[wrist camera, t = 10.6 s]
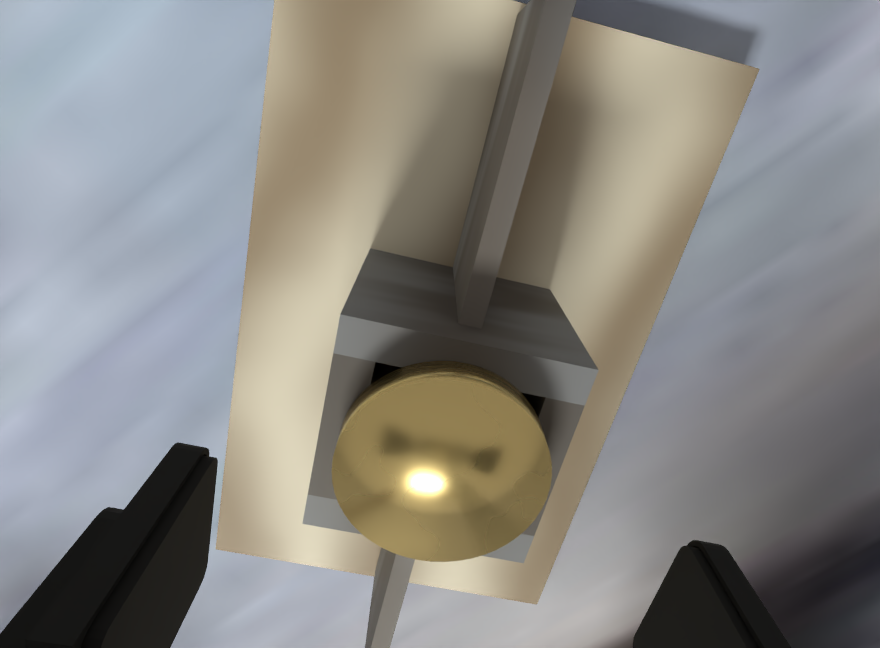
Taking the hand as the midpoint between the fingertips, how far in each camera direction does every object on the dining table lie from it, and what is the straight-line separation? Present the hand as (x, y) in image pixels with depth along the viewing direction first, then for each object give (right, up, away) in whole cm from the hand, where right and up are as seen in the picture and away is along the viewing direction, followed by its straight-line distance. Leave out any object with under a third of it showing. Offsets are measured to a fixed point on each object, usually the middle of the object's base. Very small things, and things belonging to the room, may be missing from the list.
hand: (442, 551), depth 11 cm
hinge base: (0, +4, +10) cm, 10 cm away
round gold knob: (0, +3, +8) cm, 8 cm away
